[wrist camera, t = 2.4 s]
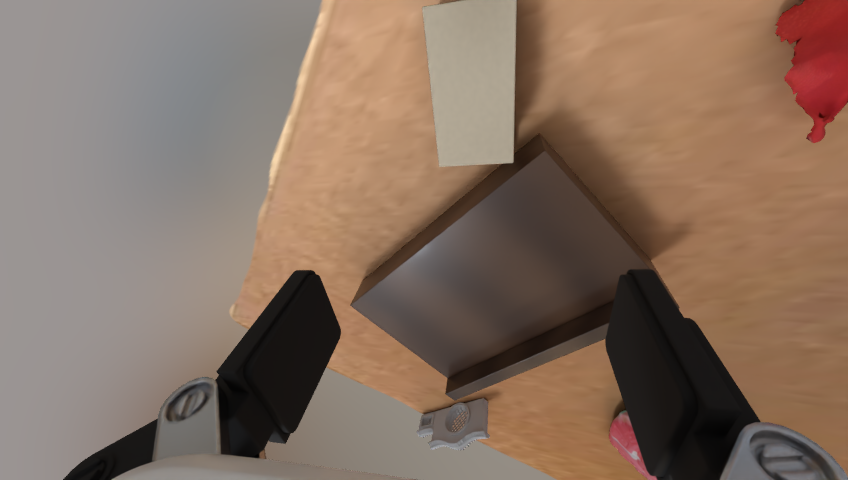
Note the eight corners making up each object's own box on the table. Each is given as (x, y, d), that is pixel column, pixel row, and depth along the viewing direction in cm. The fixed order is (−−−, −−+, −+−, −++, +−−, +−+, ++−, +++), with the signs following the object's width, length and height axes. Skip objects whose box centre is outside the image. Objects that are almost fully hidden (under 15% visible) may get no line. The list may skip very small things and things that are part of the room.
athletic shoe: (748, 483, 48) (863, 558, 36) (710, 536, 47) (814, 630, 35) (612, 359, 48) (683, 394, 36) (571, 410, 47) (629, 463, 35)
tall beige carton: (437, 8, 23) (421, 6, 18) (513, -4, 22) (516, -9, 17) (449, 152, 28) (440, 178, 24) (511, 148, 27) (513, 174, 22)
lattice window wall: (426, 419, 53) (419, 460, 48) (419, 413, 52) (411, 454, 47) (491, 401, 47) (490, 446, 42) (483, 394, 46) (482, 439, 41)
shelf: (539, 133, 26) (548, 160, 21) (650, 260, 30) (680, 308, 25) (362, 280, 38) (342, 319, 33) (459, 356, 43) (454, 400, 38)
